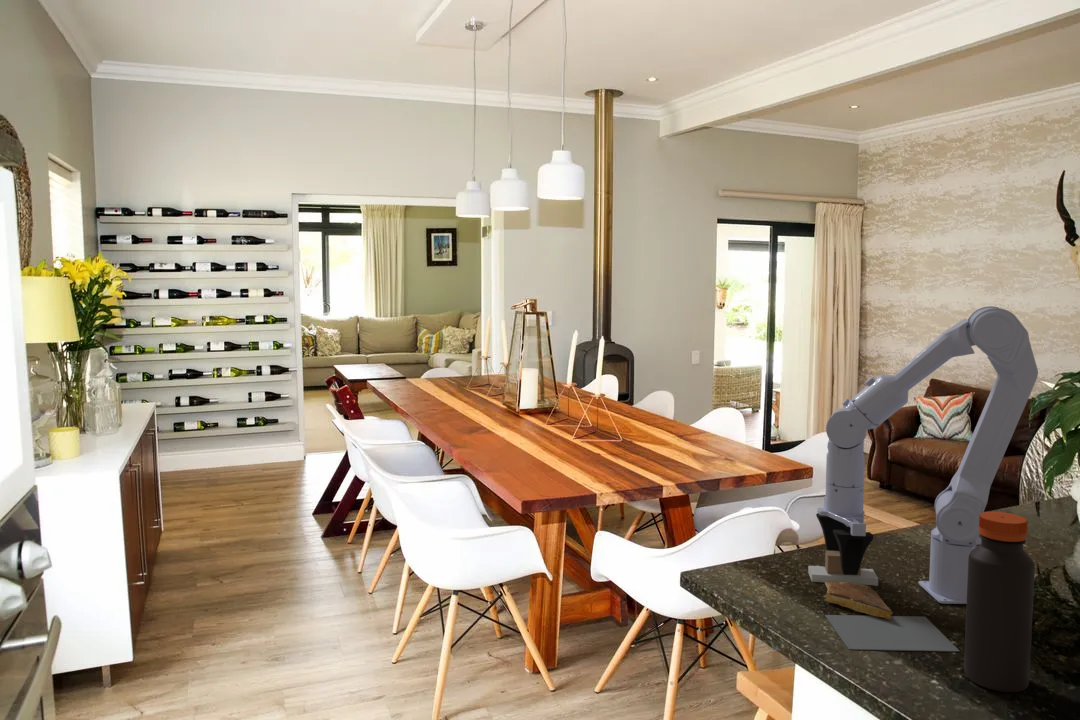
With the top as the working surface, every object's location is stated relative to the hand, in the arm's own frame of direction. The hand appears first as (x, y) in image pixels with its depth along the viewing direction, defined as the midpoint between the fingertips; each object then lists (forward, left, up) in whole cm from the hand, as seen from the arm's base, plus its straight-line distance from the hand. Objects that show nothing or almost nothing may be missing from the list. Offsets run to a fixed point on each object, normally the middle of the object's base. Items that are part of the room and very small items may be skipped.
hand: (842, 565), depth 126 cm
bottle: (-8, +32, -2) cm, 33 cm away
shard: (0, +10, -2) cm, 10 cm away
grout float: (0, 0, -3) cm, 3 cm away
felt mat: (0, +20, -2) cm, 20 cm away
